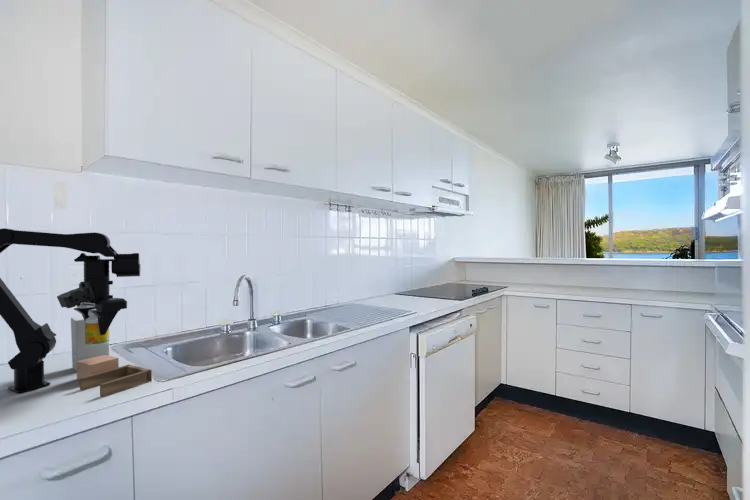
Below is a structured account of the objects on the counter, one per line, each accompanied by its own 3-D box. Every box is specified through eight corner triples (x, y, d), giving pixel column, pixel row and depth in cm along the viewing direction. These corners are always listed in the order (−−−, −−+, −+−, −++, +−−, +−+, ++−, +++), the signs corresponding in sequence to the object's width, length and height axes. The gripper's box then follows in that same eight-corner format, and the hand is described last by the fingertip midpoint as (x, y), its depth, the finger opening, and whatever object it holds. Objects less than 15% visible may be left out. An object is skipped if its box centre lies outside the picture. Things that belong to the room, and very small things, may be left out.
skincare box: (104, 361, 118) (103, 312, 118) (110, 365, 114) (110, 315, 113) (70, 368, 111) (69, 316, 111) (76, 373, 107) (75, 319, 107)
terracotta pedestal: (76, 379, 102) (76, 361, 102) (104, 371, 108) (104, 354, 108) (90, 383, 99) (90, 365, 99) (118, 375, 105) (118, 357, 105)
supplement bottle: (80, 345, 102) (80, 310, 102) (101, 341, 107) (100, 307, 107) (93, 347, 100) (93, 311, 100) (113, 342, 105) (113, 308, 105)
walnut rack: (80, 389, 95) (79, 378, 95) (128, 375, 105) (128, 364, 105) (102, 397, 90) (102, 384, 90) (151, 380, 101) (151, 369, 101)
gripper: (44, 278, 100) (44, 336, 100) (81, 281, 92) (81, 344, 92) (91, 275, 110) (91, 328, 110) (128, 278, 102) (128, 334, 102)
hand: (97, 333), depth 103 cm, fingers closed on supplement bottle, 5 cm apart
